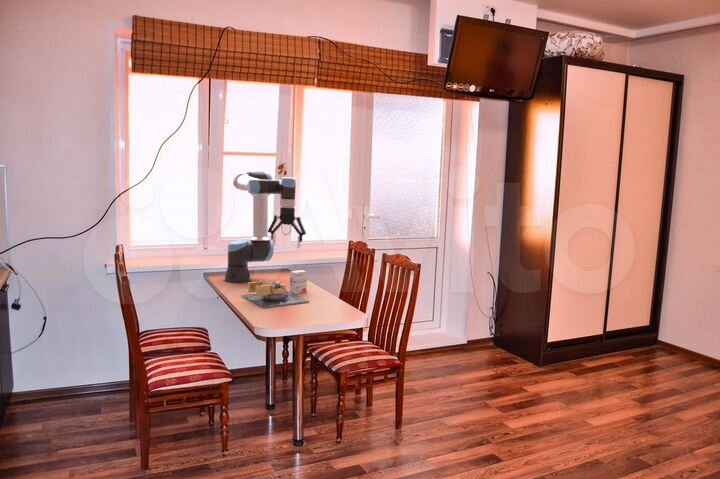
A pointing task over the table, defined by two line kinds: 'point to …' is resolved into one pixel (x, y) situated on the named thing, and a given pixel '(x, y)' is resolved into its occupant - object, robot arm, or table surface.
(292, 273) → the ink box
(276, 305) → the cap plate
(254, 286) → the octagonal ring stand
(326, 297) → the table surface
